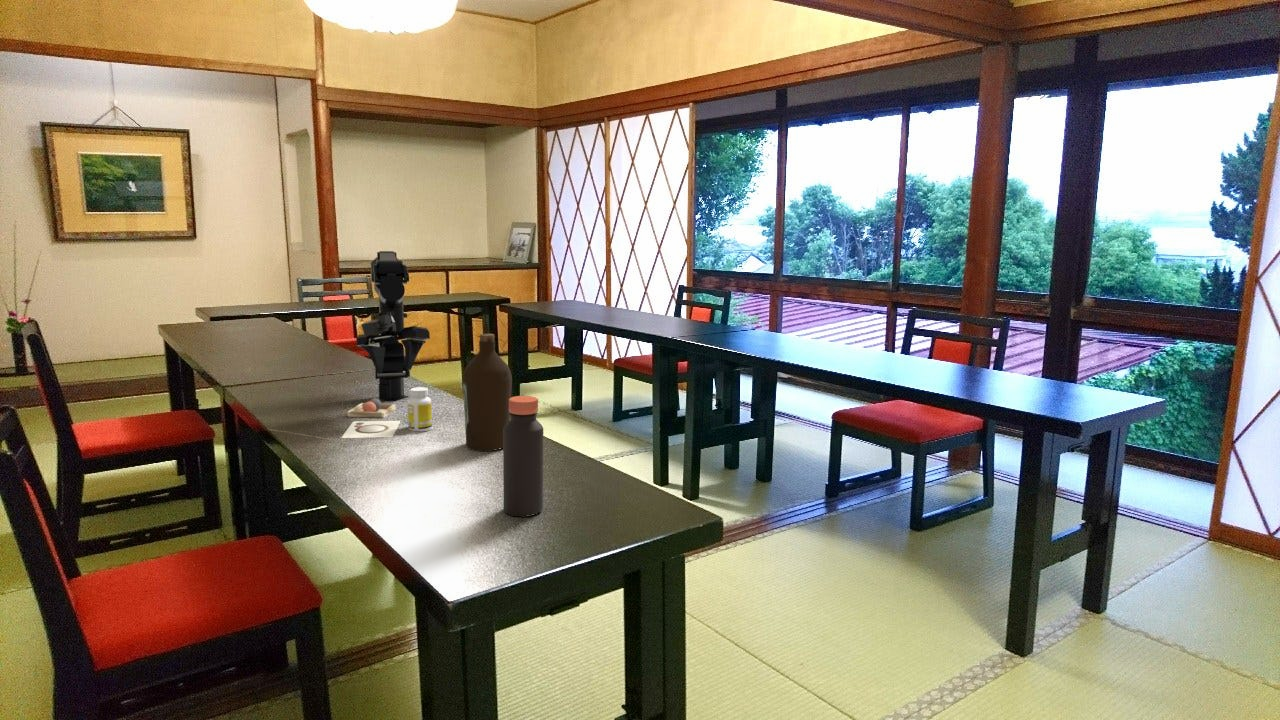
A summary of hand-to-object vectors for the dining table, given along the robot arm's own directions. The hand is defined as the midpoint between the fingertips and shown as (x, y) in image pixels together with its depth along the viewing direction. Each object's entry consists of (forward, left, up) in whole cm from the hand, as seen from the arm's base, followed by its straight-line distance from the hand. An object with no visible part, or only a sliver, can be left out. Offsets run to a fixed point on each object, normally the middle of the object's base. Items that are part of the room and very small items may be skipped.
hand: (394, 371), depth 186 cm
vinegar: (+40, +59, -12) cm, 72 cm away
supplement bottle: (+6, +12, -12) cm, 18 cm away
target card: (+12, +3, -12) cm, 17 cm away
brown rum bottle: (+10, +33, -12) cm, 36 cm away
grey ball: (-2, -8, -11) cm, 14 cm away
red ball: (+1, -7, -11) cm, 13 cm away
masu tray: (0, -7, -12) cm, 14 cm away
